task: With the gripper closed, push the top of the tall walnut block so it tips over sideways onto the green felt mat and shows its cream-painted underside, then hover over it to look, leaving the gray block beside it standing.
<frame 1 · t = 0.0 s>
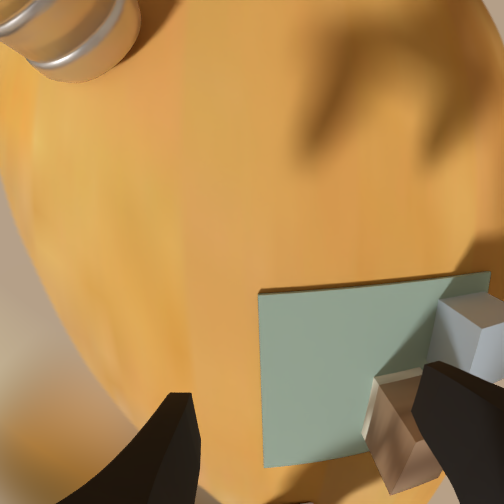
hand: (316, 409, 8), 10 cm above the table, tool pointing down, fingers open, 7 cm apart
felt mat: (382, 383, 20), on the table
plastic bottle: (101, 45, 14), on the table
walnut block: (390, 402, 20), resting on felt mat
gray block: (457, 325, 19), resting on felt mat
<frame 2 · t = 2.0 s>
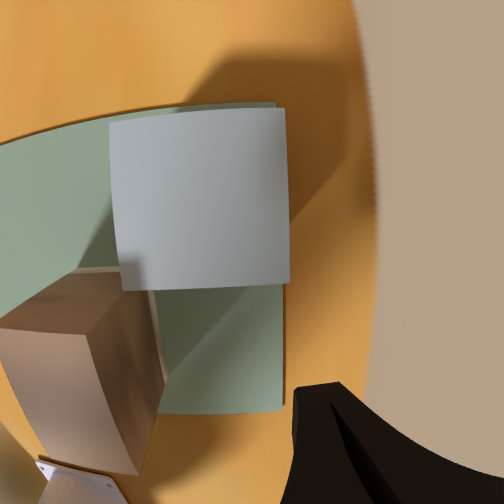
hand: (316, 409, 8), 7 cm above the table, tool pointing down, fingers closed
felt mat: (99, 284, 14), on the table
walnut block: (121, 324, 14), resting on felt mat
gray block: (210, 193, 13), resting on felt mat
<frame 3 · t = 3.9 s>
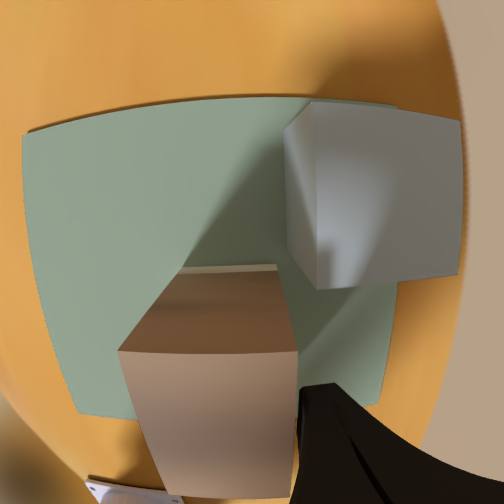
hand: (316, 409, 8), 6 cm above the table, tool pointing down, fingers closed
felt mat: (207, 286, 14), on the table
walnut block: (232, 329, 14), resting on felt mat, touching gripper
gray block: (342, 189, 13), resting on felt mat
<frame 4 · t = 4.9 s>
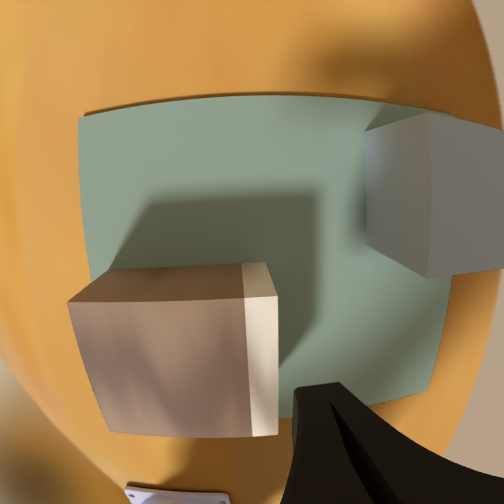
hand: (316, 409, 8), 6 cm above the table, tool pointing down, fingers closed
felt mat: (288, 280, 14), on the table
walnut block: (272, 348, 12), point 2 cm above the table, tilted 90°, touching felt mat
gray block: (412, 189, 13), resting on felt mat
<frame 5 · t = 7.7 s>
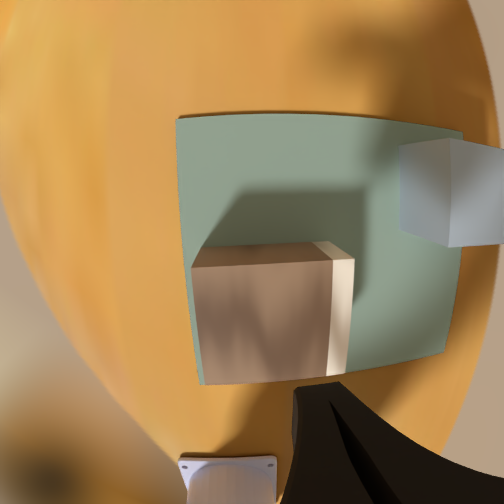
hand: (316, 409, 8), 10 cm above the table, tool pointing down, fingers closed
felt mat: (343, 256, 17), on the table
walnut block: (337, 305, 16), point 2 cm above the table, tilted 90°, touching felt mat
gray block: (432, 188, 17), resting on felt mat
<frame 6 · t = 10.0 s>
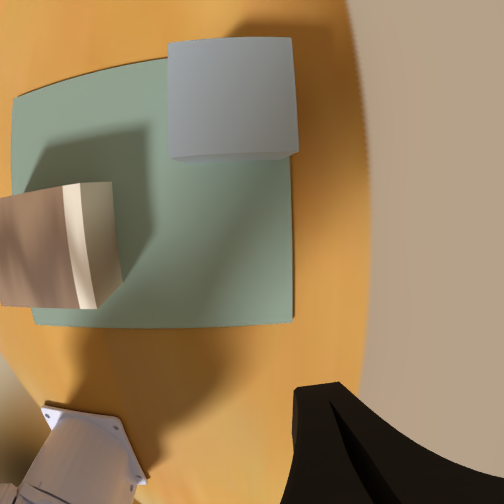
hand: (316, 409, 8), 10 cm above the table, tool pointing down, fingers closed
felt mat: (130, 196, 17), on the table
walnut block: (102, 240, 15), point 2 cm above the table, tilted 90°, touching felt mat
gray block: (232, 116, 16), resting on felt mat
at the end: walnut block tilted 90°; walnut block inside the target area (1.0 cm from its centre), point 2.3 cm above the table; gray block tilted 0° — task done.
